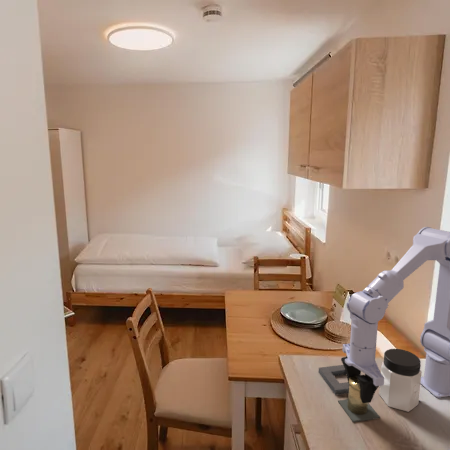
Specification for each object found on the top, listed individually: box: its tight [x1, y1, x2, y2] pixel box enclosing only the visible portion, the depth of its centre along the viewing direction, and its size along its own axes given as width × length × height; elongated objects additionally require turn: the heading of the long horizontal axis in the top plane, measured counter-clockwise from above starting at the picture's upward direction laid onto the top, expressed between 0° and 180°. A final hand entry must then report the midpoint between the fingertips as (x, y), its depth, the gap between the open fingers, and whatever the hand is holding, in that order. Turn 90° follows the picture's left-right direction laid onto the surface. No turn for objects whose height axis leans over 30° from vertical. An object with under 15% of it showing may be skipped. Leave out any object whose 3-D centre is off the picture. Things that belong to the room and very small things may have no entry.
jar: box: [378, 348, 423, 412], centre depth 86 cm, size 9×8×12 cm
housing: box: [318, 364, 349, 396], centre depth 94 cm, size 10×10×2 cm
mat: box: [337, 398, 381, 423], centre depth 84 cm, size 7×7×1 cm
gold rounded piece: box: [347, 376, 368, 415], centre depth 83 cm, size 5×5×7 cm
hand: (359, 393), depth 83 cm, fingers closed on gold rounded piece, 5 cm apart
